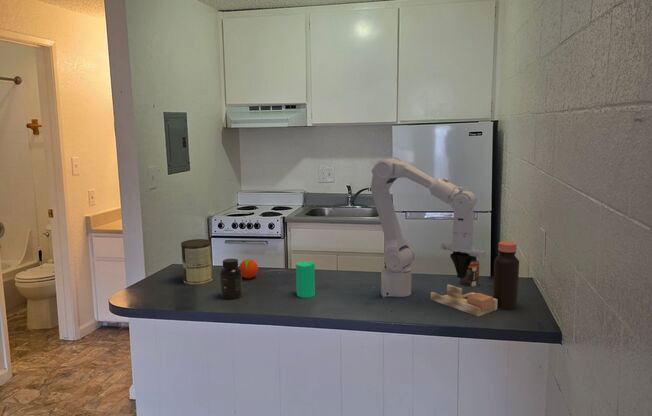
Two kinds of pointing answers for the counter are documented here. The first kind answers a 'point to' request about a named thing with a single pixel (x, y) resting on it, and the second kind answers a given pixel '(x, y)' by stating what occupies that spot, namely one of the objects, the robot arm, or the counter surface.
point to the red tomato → (248, 268)
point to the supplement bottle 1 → (231, 279)
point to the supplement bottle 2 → (471, 274)
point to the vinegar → (506, 276)
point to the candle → (305, 279)
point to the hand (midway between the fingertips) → (461, 277)
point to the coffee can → (196, 261)
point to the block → (480, 300)
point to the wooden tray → (461, 301)
